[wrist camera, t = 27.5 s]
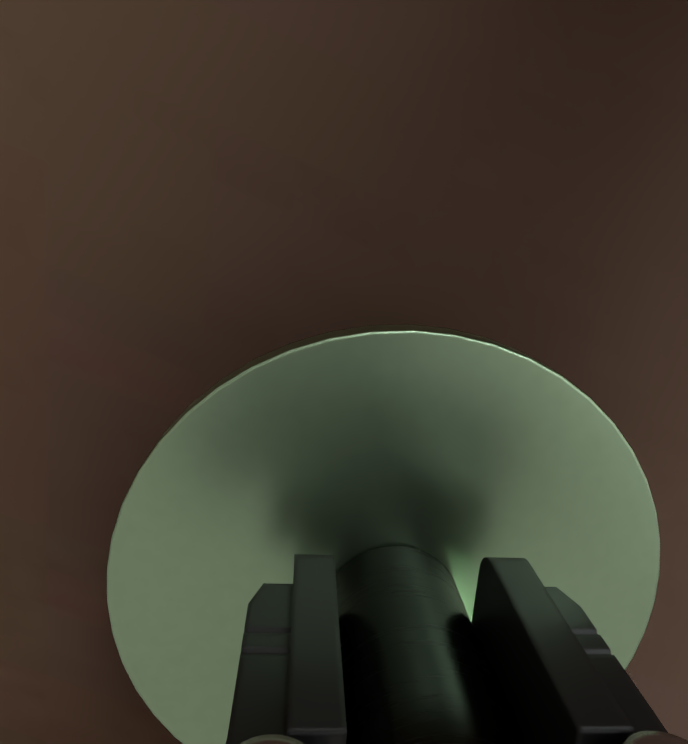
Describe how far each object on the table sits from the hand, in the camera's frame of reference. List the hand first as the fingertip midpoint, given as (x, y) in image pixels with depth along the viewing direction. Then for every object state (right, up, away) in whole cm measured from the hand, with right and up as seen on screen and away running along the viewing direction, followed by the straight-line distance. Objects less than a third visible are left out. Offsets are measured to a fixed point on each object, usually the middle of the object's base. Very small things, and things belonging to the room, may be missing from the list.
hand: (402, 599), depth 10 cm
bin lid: (0, 0, +2) cm, 2 cm away
